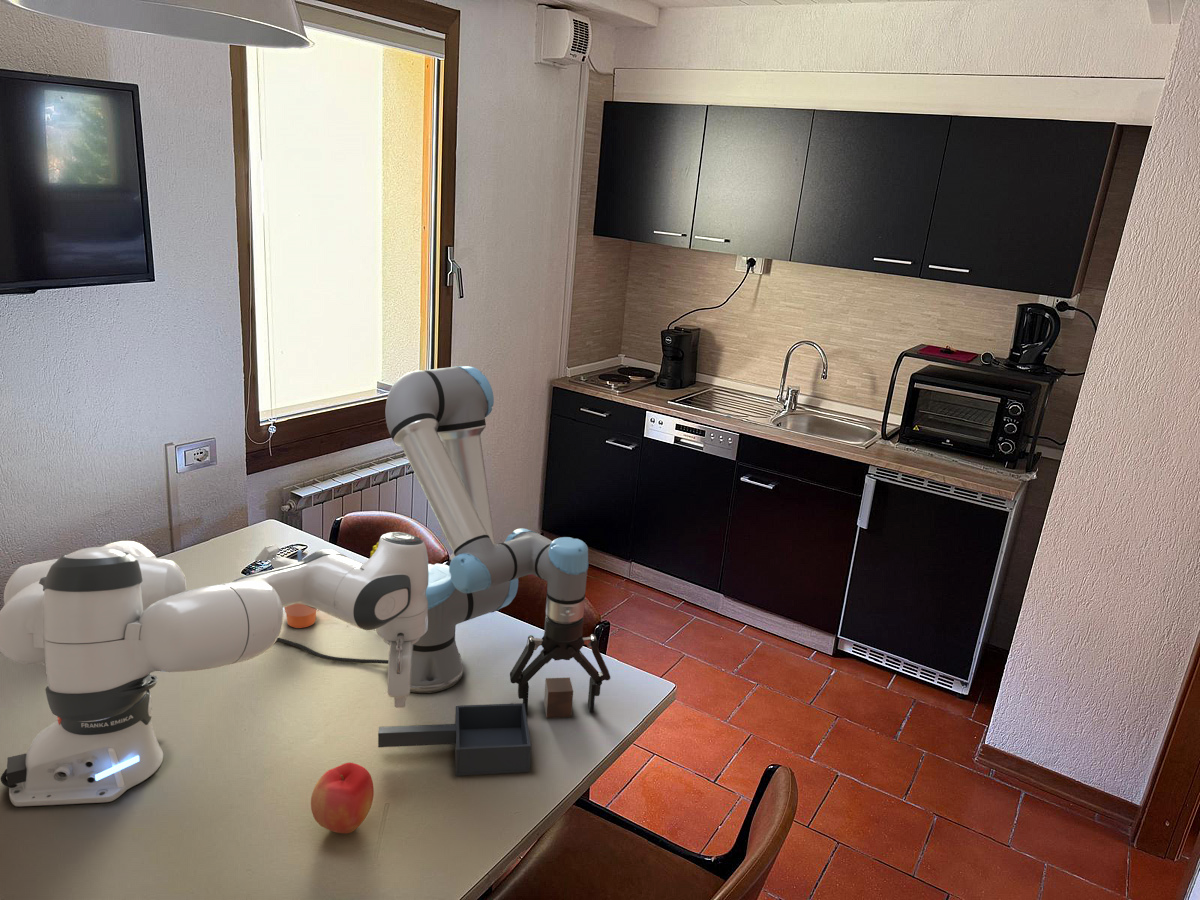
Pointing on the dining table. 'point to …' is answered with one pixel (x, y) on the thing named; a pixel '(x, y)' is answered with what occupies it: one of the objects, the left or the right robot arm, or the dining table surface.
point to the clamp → (271, 553)
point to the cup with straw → (300, 611)
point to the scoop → (474, 738)
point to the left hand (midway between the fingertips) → (401, 689)
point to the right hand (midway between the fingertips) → (557, 709)
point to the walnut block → (558, 697)
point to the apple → (342, 798)
